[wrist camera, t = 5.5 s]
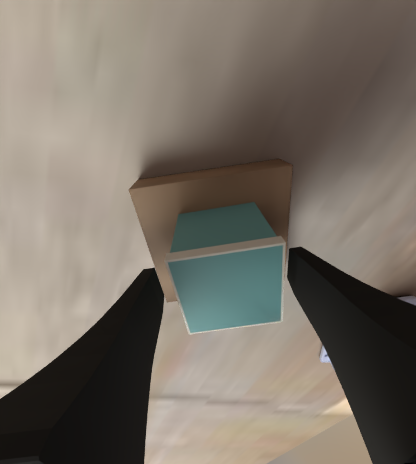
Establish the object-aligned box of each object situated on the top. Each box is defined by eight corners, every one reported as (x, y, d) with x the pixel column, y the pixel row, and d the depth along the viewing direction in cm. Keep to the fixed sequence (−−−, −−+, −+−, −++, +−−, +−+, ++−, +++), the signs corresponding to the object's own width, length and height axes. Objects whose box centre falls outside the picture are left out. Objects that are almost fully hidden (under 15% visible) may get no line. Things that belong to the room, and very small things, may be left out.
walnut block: (273, 266, 17) (283, 286, 15) (170, 280, 18) (167, 302, 15) (277, 157, 13) (292, 165, 11) (139, 178, 13) (128, 189, 11)
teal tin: (258, 263, 14) (282, 322, 10) (191, 273, 14) (188, 334, 10) (255, 200, 12) (285, 242, 8) (176, 212, 12) (164, 261, 8)
